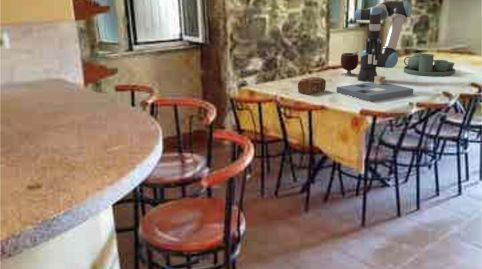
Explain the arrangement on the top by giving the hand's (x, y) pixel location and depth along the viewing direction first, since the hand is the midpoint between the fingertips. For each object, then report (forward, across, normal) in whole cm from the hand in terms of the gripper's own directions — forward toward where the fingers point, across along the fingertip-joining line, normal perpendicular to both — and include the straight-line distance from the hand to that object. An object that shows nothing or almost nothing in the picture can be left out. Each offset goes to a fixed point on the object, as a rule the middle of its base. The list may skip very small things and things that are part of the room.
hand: (372, 64), depth 335 cm
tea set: (+17, -21, +83) cm, 87 cm away
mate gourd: (+17, -46, +20) cm, 53 cm away
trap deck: (+17, +17, -13) cm, 27 cm away
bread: (+17, -11, -44) cm, 48 cm away
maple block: (+13, +8, 0) cm, 15 cm away
